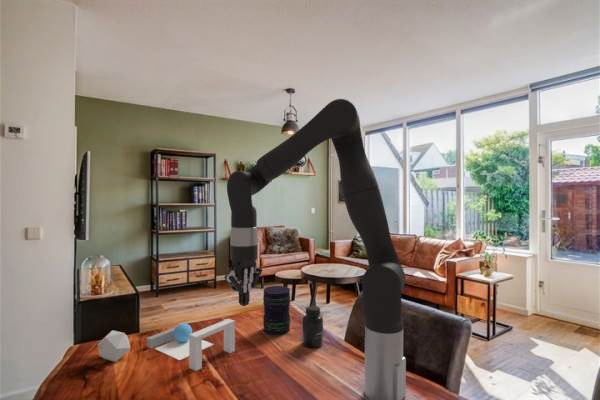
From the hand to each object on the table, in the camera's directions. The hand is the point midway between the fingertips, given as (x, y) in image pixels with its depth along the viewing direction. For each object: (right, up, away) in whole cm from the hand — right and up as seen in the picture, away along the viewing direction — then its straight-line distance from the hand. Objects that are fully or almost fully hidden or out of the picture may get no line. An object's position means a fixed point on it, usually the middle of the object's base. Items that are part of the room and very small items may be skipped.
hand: (244, 304), depth 95 cm
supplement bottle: (+20, -19, +18) cm, 33 cm away
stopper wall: (-29, -19, +21) cm, 41 cm away
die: (-41, -19, +8) cm, 46 cm away
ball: (-24, -16, +20) cm, 35 cm away
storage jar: (+7, -19, +30) cm, 36 cm away
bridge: (-11, -19, +8) cm, 23 cm away
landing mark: (-22, -19, +16) cm, 33 cm away
